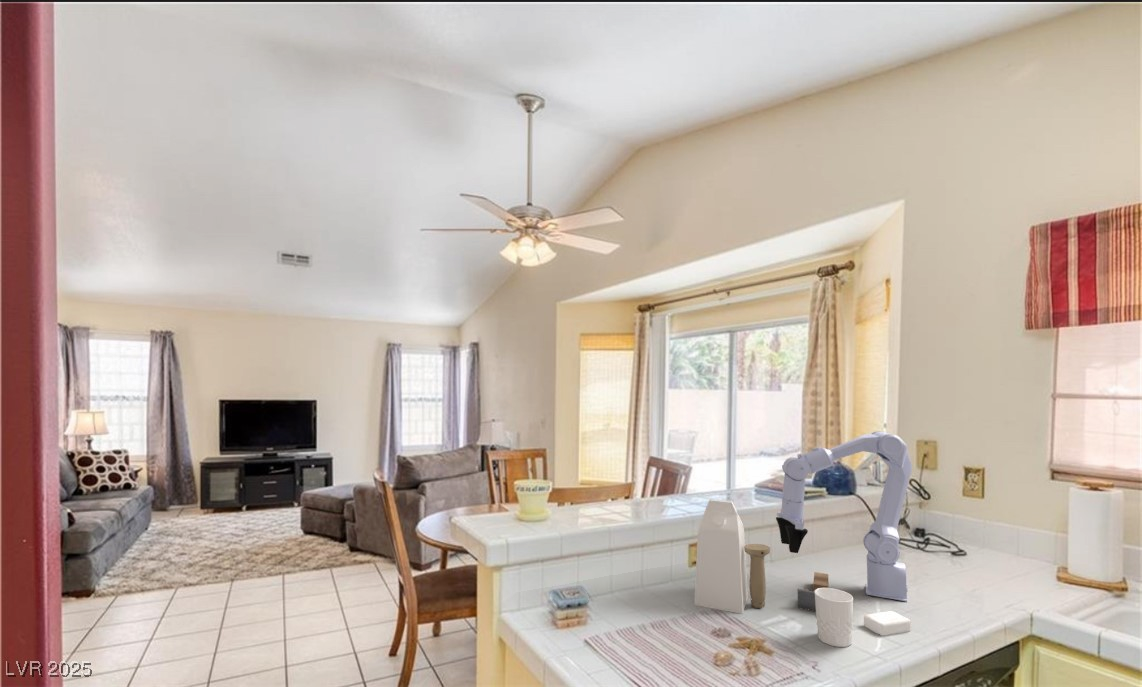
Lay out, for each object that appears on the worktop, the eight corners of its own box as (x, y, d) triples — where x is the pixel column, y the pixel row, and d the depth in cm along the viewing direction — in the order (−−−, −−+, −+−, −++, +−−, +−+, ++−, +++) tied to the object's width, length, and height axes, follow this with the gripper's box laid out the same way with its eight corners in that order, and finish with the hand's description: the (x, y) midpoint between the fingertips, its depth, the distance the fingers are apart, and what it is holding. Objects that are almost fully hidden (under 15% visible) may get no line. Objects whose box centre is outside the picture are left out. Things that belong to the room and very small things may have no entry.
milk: (747, 596, 142) (746, 498, 144) (742, 613, 131) (741, 508, 133) (702, 588, 147) (702, 494, 149) (694, 604, 136) (693, 503, 138)
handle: (774, 609, 134) (773, 549, 135) (751, 611, 133) (751, 550, 134) (763, 601, 139) (762, 543, 140) (741, 603, 137) (741, 544, 138)
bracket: (799, 598, 141) (799, 581, 141) (840, 606, 136) (839, 588, 137) (797, 607, 135) (797, 590, 135) (839, 616, 131) (839, 597, 131)
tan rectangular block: (814, 584, 151) (814, 572, 151) (828, 587, 150) (828, 574, 150) (813, 597, 142) (813, 583, 143) (828, 600, 141) (827, 586, 141)
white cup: (808, 632, 122) (807, 587, 123) (840, 631, 123) (839, 587, 123) (827, 649, 114) (826, 602, 115) (862, 648, 115) (861, 601, 116)
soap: (891, 622, 128) (891, 609, 128) (912, 632, 123) (911, 619, 123) (862, 626, 126) (862, 613, 126) (882, 637, 120) (881, 624, 121)
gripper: (771, 492, 159) (768, 538, 158) (786, 504, 144) (782, 554, 144) (795, 495, 158) (792, 541, 157) (812, 507, 144) (809, 557, 143)
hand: (789, 547), depth 150 cm, fingers open, 7 cm apart
